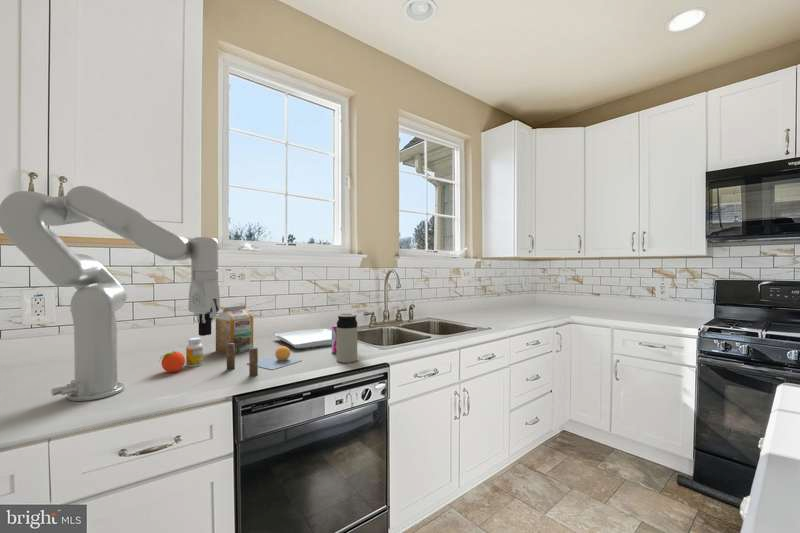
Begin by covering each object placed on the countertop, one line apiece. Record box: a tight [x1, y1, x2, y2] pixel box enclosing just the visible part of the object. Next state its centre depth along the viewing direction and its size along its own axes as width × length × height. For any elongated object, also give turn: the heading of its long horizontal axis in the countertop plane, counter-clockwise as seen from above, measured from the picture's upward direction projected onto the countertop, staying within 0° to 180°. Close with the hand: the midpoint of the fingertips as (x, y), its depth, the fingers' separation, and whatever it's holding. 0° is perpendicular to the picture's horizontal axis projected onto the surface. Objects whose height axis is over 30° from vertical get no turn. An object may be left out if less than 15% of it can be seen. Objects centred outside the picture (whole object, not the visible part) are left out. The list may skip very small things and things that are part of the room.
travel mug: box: [336, 312, 358, 364], centre depth 142 cm, size 8×8×18 cm
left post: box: [226, 343, 236, 371], centre depth 130 cm, size 3×3×9 cm
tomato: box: [158, 350, 186, 373], centre depth 126 cm, size 8×7×7 cm
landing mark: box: [246, 355, 303, 371], centre depth 138 cm, size 14×14×1 cm
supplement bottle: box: [185, 337, 204, 368], centre depth 134 cm, size 5×5×10 cm
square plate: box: [274, 328, 332, 349], centre depth 174 cm, size 27×27×4 cm
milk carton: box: [215, 304, 254, 355], centre depth 156 cm, size 11×11×19 cm
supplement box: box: [331, 324, 337, 355], centre depth 154 cm, size 6×6×12 cm
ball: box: [274, 345, 291, 361], centre depth 141 cm, size 6×6×6 cm
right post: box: [248, 347, 259, 377], centre depth 123 cm, size 3×3×9 cm
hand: (205, 334), depth 115 cm, fingers closed
